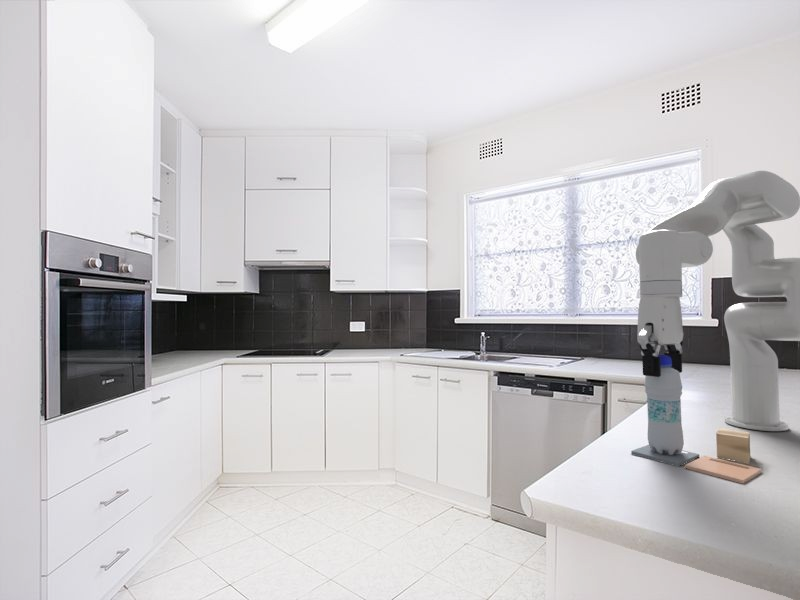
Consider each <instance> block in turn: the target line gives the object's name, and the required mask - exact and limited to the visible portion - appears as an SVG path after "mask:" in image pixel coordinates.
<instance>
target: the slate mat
mask: <svg viewBox="0 0 800 600" xmlns="http://www.w3.org/2000/svg"><path fill="white" fill-rule="evenodd" d="M630 451H631V452H630V453H631V455H634V454H635V455H634V456H639V457H642V458H645V459H649V460H652V461H653V460H654V461H656V460H658V461H657V462H660V461H662V462H661V463H664V462H665V463H664V464H668V463H669V464H668V465H671V464H673V465H672V466H675V465H676V467H681V466H683V465H682V464H684V463H686V462H688V463H690V462H692V461H694V460H696V459H695V458H697V457H699V458H700V453H696V452H691V451H688V450H683V449H682V452H681V453H680V454H678V455H676V454H675V453H674V454H673V455H668V451H667V450H663V454H659V453H658V452H657V451H656V452H654V451H653V450H651V448H650V446H649V444H647V445H644V446H641V447H638V448H636V449H632V450H630ZM693 459H694V460H693ZM697 459H698V458H697ZM691 460H692V461H691ZM689 461H690V462H689ZM686 464H687V463H686ZM680 465H681V466H680ZM684 465H685V464H684Z"/></svg>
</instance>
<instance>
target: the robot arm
mask: <svg viewBox="0 0 800 600" xmlns="http://www.w3.org/2000/svg"><path fill="white" fill-rule="evenodd" d="M799 210H800V193H799V192H798V190H797V189H796V187H795V186H794V185H792V183H790V182H789V181H787V180H786V179H784V178H783V177H781V176H780V175H778V174H776V173H774V172H771V171H767V170H755V171H752V172H747V173H743V174H739V175H735V176H730V177H725V178H722V179H718V180H717V181H714V182H711V183H710V184H709V185H708V186H707V187H706V188H705V189H704V190H703V191H702V192H701V194H699V195H698V197H697V198H696V199H695V201H694V202H693V203H692V204H691V205H690V206H688V207H687V208H685V209H683V210H681V211H679V212H677V213H675V214H674V215H672V216H670V217H668V218H665V219H664V220H662V221H661V222H659V223H657V224H656V225H654V226H652V227H651V228H649V230H648V231H647V232H644V233H642V234H641V235H640V236H639V240H638V244H637V246H636V249H635V260H636V262H637V264H638V265H639V304H638V312H637V332H636V333H637V334H636V335H637V343H638V344H639V348H640V350H641V351H640V355H641V357H642V358H641V359H642V361H641V362H642V375H643V376H644V377H645V376H654V377H660V376H661V365H660V357H658V355H660V354H659V353H660V351H661V347H662V346H663V347H664V349H665V352H664V354H663V355H667V356H669V357H670V358H671V360H672V366H671V368H673V369H675V370H677V371H679V373H680V374H681V373H682V372H683V356H682V354H683V345H684V342H683V339H684V335H685V334H684V330H683V325H684V324H683V314H682V306H681V305H682V304H681V298H682V297H683V269H684V268H693V267H694V268H695V267H698V266H701V265H704V264H706V263H707V262H708V261H709V260H710V259H711V258H712V255H713V250H714V247H713V246H714V245H713V242H712V240H711V239H710V238H709V237H712V236H714V235H716V234H718V233H720V232H721V231H723V232H724V234H725V235H726V236H727V238H728V241H729V242H730V245H731V284H732V285H731V286H732V289H733V291H734V293H735V295H737V296H740V297H744V298H775V297H778V298H782V297H783V298H786V301H771V302H770V301H758V302H757V301H756V302H755V301H752V302H751V301H750V302H749V301H748V302H740V303H735V304H733V305H731V306H729V307H728V308H726V310H725V313H724V315H723V321H724V326H725V330H726V334H727V340H728V344H729V345H728V346H729V357H730V358H729V363H730V364H729V367H730V368H729V369H730V394H731V395H730V396H731V397H730V398H731V401H730V402H731V414H729V415H726V416H724V422H725V423H727V424H729V425H731V426H733V427H734V426H735V427H737V428H742V429H743V428H744V429H748V430H753V431H763V432H785V431H788V430H789V424H788V423H787V422H785V421H782V420H781V417H780V415H781V414H780V410H781V409H780V386H779V384H780V383H779V381H780V380H779V359H778V356H777V354H776V352H775V351H774V350H773V349H772V348H771V346H770V345H769V344H768V343H767V342H766V341H784V342H786V341H787V342H789V341H790V342H794V341H795V342H800V257H785V258H784V257H782V258H775V247H774V246H775V244H774V243H775V242H774V240H773V237H772V236H771V235H770V234H769V233H768V232H767V231H765V230H764V229H763V228H761V227H760V226H758V224H765V223H772V222H777V221H783V220H789V219H790V218H792V217H794V216H796V214H797V213H798V212H799Z"/></svg>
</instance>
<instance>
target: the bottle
mask: <svg viewBox="0 0 800 600" xmlns="http://www.w3.org/2000/svg"><path fill="white" fill-rule="evenodd" d="M658 357H660V365H661V376H660V377H654V376H645V375H644V377H645V378H644V383H643V384H644V388H645V390H644V392H645V393H646V401H647V403H646V404H647V442H648V443H647V444H648V445H649V446H650V448H651V450H653V451H654V452H656V451H657V452H658V453H659V454H663V450H667V451H668V455H673V454H674V453H675V454H676V455H678V454H680V453H681V452H682V450H683V449H684V440H685V439H684V431H683V426H682V402H681V397H682V395H683V391H682V390H683V383H682V379H681V375H680V374H681V373H679V371H677V370H675V369H673V368H671V366H672V360H671V358H670V357H669V356H667V355H664V354H658Z"/></svg>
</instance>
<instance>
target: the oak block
mask: <svg viewBox="0 0 800 600" xmlns="http://www.w3.org/2000/svg"><path fill="white" fill-rule="evenodd" d="M715 435H716V458H717V457H718V458H717V459H720V458H724V459H723V460H725V459H730V460H729V461H731V460H735V461H734V462H737V461H739V462H738V463H742V462H743V464H747V465H749V464H750V461H751V457H752V456H751V433H750V432H747V431H740V430H735V429H733V430H732V429H727V428H718V430H717V432H716V434H715Z"/></svg>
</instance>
